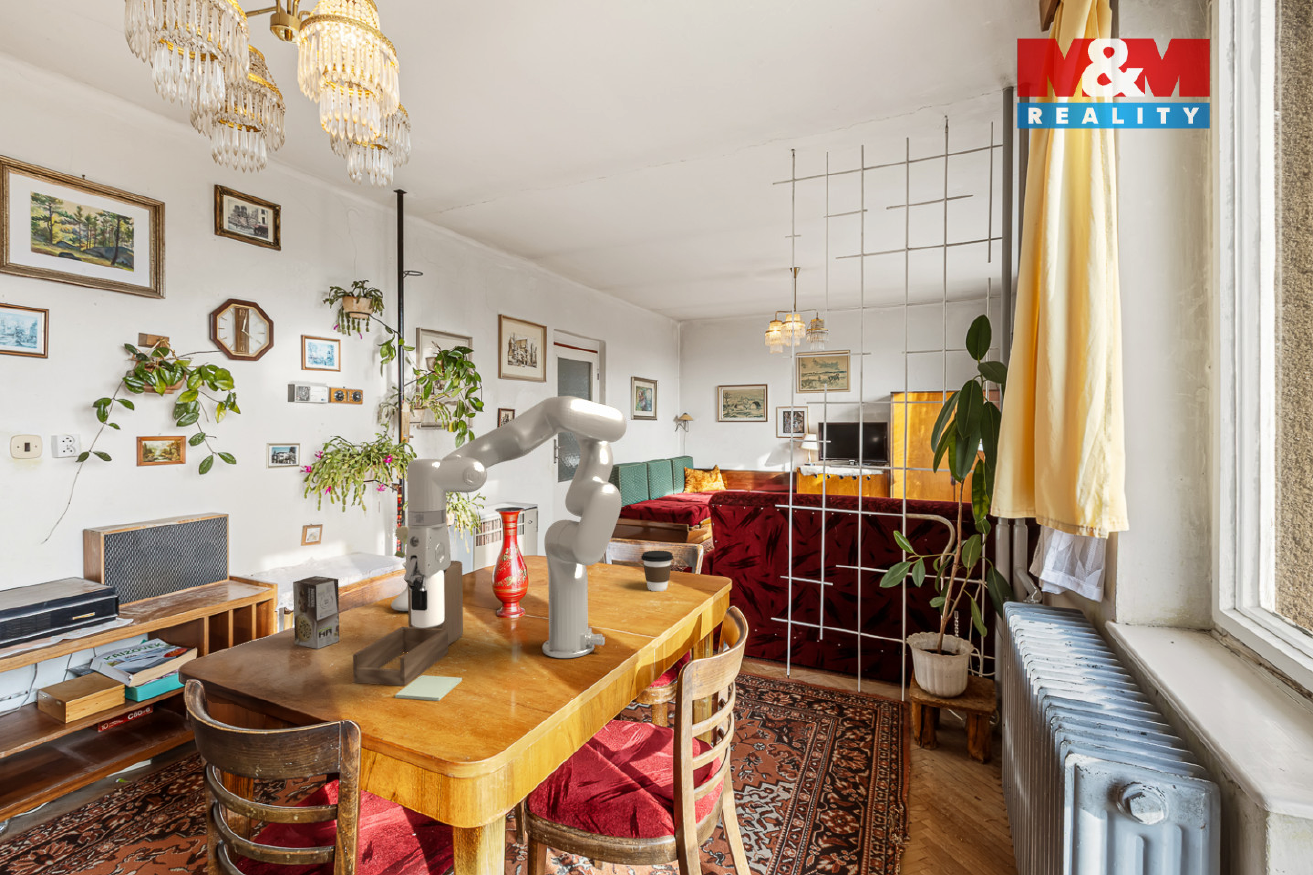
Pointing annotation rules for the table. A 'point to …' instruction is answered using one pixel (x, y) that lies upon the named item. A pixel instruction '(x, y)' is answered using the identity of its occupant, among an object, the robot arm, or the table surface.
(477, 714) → the table surface
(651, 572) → the coffee cup
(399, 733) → the table surface
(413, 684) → the sage mat
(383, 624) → the table surface
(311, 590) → the coffee box
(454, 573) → the block
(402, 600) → the flower in vase
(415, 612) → the can
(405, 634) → the walnut box
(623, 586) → the table surface
